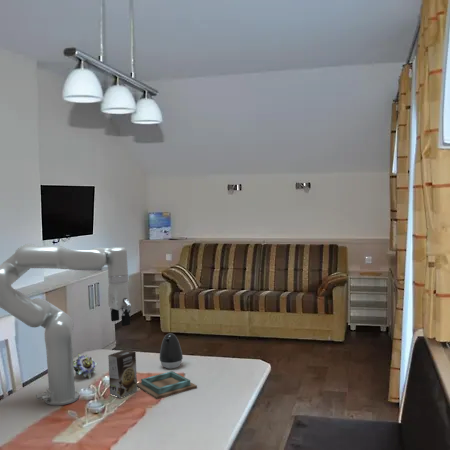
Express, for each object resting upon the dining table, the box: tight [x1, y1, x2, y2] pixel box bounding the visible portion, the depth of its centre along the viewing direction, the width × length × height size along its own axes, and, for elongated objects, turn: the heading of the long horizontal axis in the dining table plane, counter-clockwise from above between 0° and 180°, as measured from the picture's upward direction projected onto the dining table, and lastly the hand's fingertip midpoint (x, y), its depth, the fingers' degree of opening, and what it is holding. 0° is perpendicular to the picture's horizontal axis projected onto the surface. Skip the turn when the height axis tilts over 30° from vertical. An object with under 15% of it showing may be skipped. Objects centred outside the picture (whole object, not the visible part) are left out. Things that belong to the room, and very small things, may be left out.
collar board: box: [137, 370, 198, 400], centre depth 218 cm, size 18×18×3 cm
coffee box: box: [107, 349, 138, 399], centre depth 213 cm, size 9×6×16 cm
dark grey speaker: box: [159, 332, 184, 370], centre depth 242 cm, size 10×10×15 cm
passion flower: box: [73, 353, 98, 379], centre depth 235 cm, size 11×11×12 cm
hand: (120, 322), depth 211 cm, fingers open, 9 cm apart
